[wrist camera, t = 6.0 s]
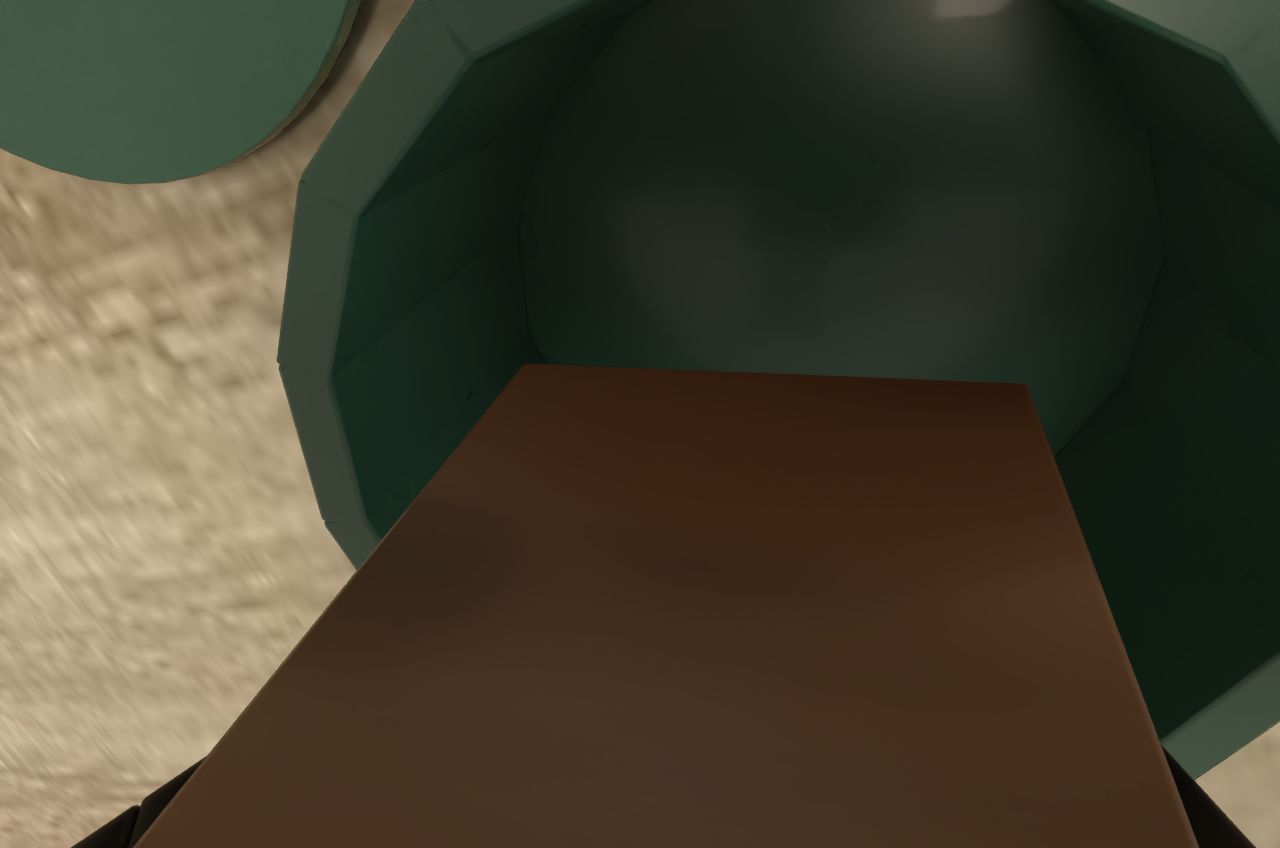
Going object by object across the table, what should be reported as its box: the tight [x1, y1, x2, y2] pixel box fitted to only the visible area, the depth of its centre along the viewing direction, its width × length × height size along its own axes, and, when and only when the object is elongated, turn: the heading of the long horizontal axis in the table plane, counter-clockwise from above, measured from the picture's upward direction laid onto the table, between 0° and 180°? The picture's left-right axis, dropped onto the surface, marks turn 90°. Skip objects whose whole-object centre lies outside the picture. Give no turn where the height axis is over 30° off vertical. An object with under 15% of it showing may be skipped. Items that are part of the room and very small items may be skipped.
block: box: [133, 364, 1199, 848], centre depth 6 cm, size 5×5×5 cm
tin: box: [277, 0, 1280, 780], centre depth 13 cm, size 14×14×8 cm
